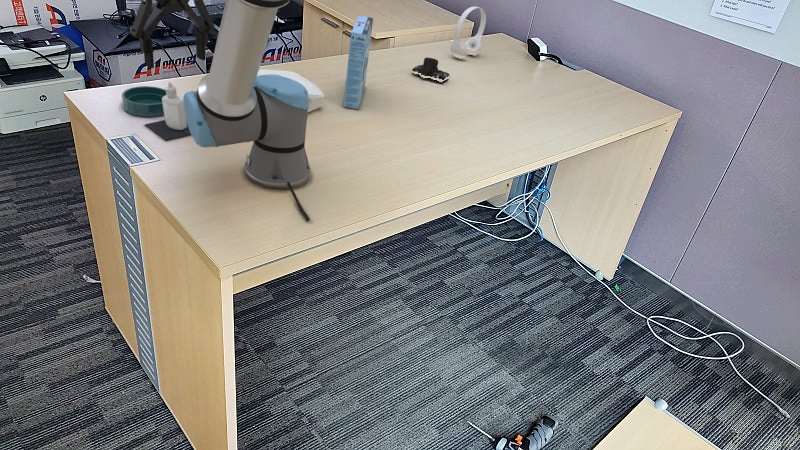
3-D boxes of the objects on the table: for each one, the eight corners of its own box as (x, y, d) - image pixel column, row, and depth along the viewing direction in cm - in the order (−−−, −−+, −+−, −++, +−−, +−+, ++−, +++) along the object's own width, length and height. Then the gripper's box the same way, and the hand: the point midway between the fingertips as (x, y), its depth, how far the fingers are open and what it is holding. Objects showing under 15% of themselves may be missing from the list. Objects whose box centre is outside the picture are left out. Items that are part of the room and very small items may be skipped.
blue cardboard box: (358, 110, 183) (368, 35, 170) (341, 107, 183) (350, 31, 170) (364, 87, 199) (374, 17, 187) (349, 84, 199) (358, 14, 186)
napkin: (208, 130, 156) (208, 129, 156) (165, 141, 148) (165, 139, 148) (187, 116, 161) (187, 114, 161) (144, 125, 153) (144, 123, 153)
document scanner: (201, 98, 172) (200, 77, 168) (283, 84, 190) (284, 65, 186) (241, 127, 160) (241, 105, 157) (324, 110, 178) (326, 90, 175)
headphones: (483, 57, 249) (495, 7, 238) (458, 63, 236) (470, 12, 226) (469, 51, 253) (480, 2, 242) (444, 57, 240) (454, 6, 229)
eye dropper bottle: (171, 133, 151) (164, 89, 144) (164, 123, 155) (157, 79, 148) (188, 129, 154) (182, 85, 146) (181, 119, 157) (175, 76, 150)
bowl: (181, 111, 163) (180, 99, 161) (138, 121, 154) (137, 108, 152) (157, 95, 169) (156, 83, 167) (114, 103, 160) (113, 90, 158)
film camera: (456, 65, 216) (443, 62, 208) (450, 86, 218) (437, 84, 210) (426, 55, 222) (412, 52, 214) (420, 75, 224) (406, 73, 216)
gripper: (210, -37, 144) (211, 51, 155) (107, -34, 127) (117, 64, 138) (229, -29, 140) (229, 60, 152) (125, -25, 123) (134, 75, 134)
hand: (176, 62), depth 145 cm, fingers open, 13 cm apart
